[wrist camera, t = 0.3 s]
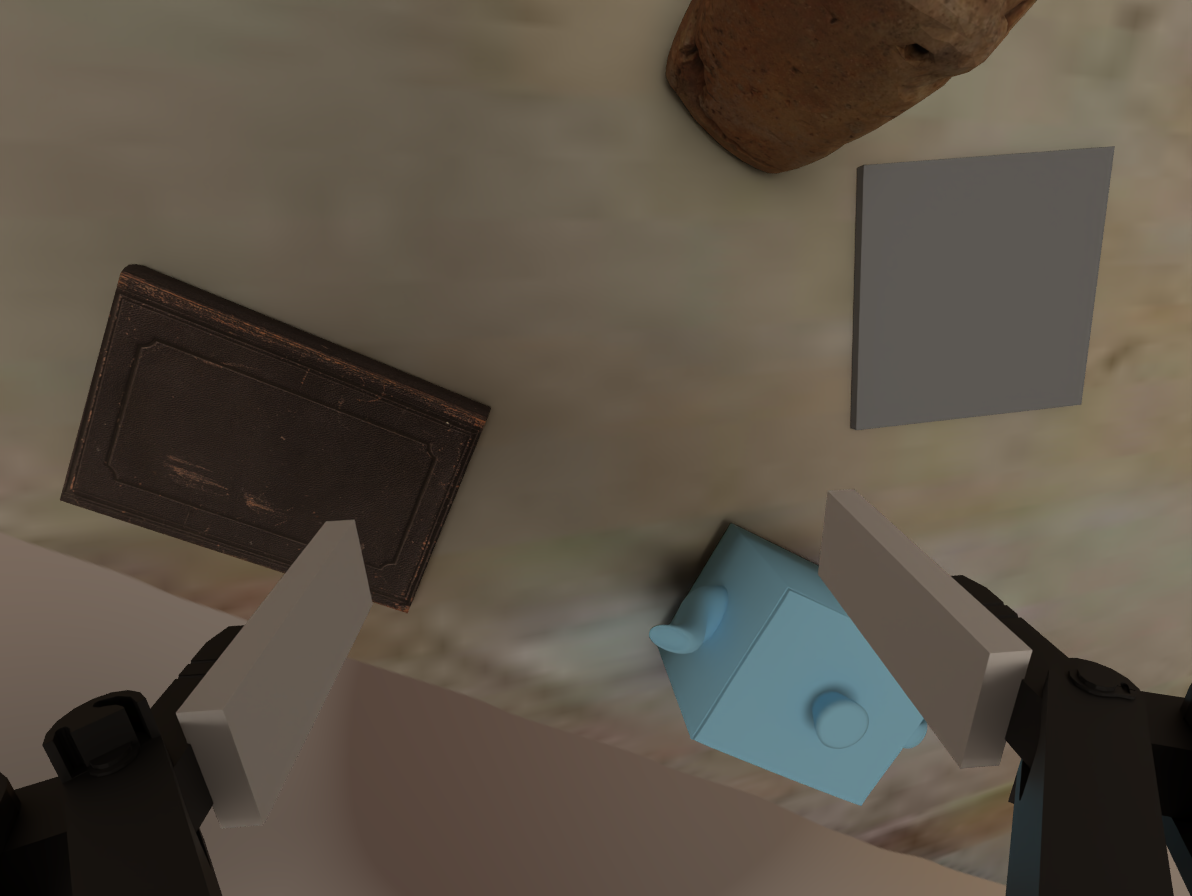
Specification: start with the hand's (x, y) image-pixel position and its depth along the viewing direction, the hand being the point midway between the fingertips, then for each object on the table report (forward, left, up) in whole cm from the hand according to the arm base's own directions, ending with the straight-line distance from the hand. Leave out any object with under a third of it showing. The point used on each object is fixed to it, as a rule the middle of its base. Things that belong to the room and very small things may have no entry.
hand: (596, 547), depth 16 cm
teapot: (+18, +13, -26) cm, 34 cm away
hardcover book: (+2, -19, -26) cm, 32 cm away
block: (-18, +14, -26) cm, 34 cm away
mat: (-4, +31, -25) cm, 40 cm away
